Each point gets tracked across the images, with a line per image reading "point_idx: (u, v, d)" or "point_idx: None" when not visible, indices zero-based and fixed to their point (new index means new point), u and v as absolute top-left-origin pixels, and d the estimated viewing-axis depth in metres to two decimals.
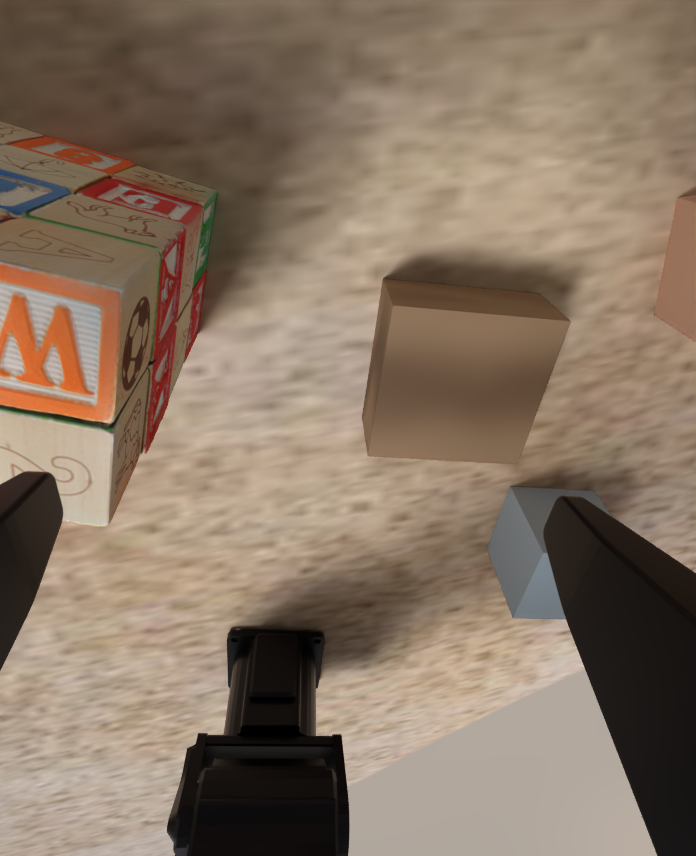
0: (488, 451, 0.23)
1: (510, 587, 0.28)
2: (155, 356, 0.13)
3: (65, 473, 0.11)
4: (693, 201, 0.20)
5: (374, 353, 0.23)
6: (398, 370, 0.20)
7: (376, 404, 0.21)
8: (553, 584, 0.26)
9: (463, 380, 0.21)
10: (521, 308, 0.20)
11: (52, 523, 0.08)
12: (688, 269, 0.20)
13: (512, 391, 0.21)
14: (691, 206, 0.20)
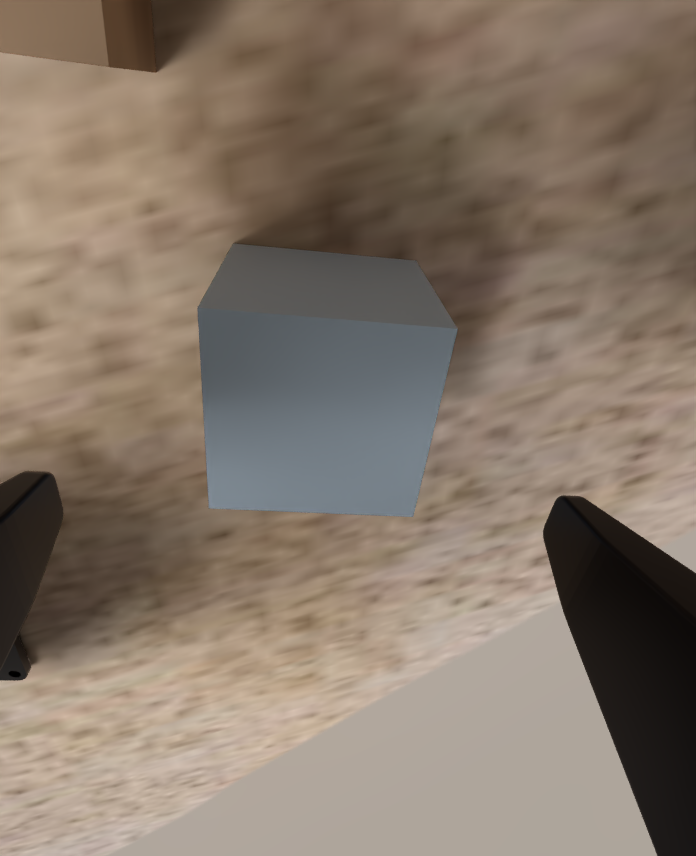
0: (1, 3, 0.08)
1: None
2: None
3: None
4: None
5: None
6: None
7: None
8: (265, 413, 0.11)
9: None
10: None
11: (52, 523, 0.08)
12: None
13: None
14: None
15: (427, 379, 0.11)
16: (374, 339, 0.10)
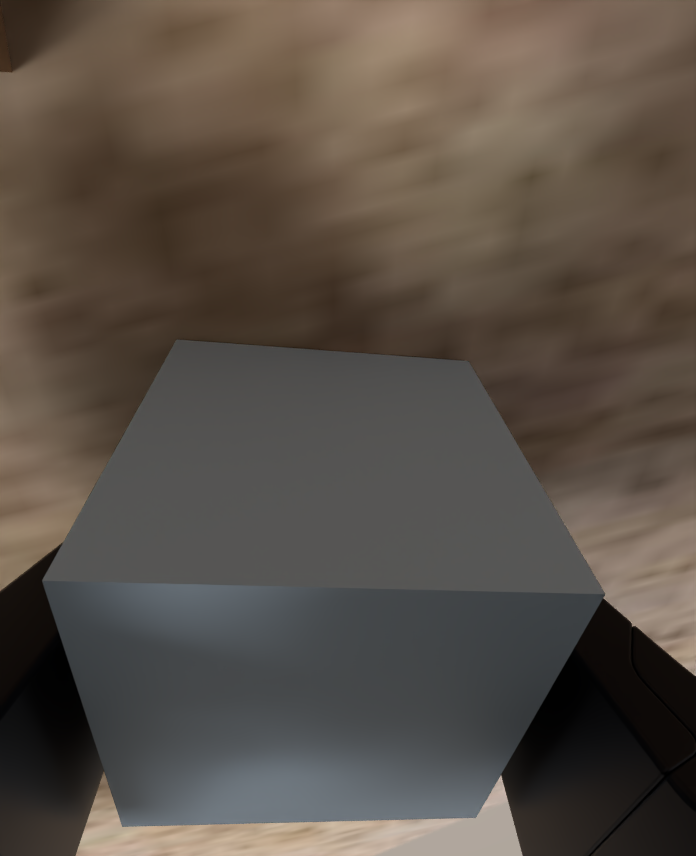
0: None
1: None
2: None
3: None
4: None
5: None
6: None
7: None
8: (212, 720, 0.06)
9: None
10: None
11: None
12: None
13: None
14: None
15: (529, 665, 0.05)
16: (431, 615, 0.05)
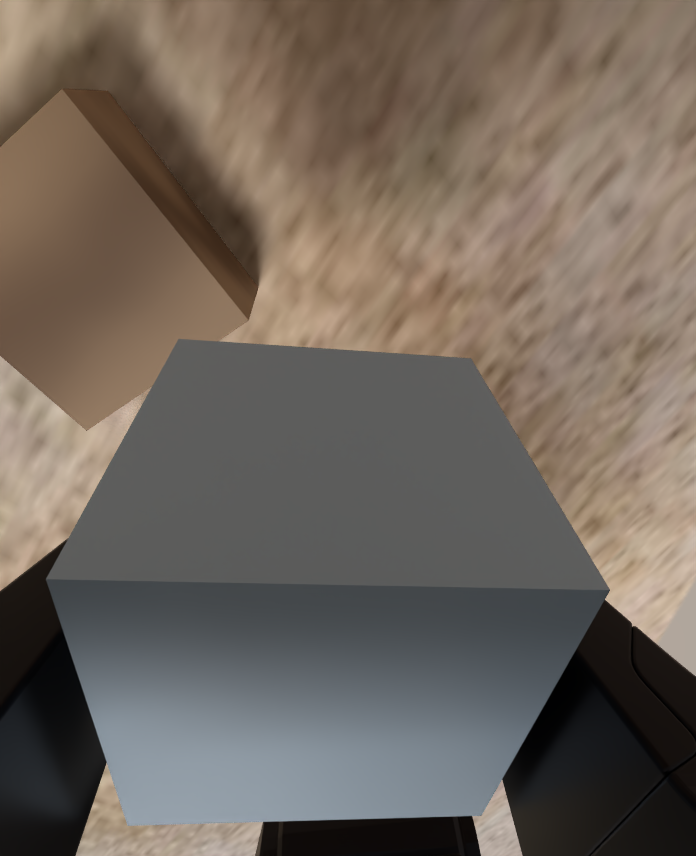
0: (193, 331, 0.16)
1: None
2: None
3: None
4: None
5: None
6: None
7: (21, 371, 0.16)
8: (216, 718, 0.06)
9: (57, 272, 0.14)
10: None
11: None
12: None
13: (121, 239, 0.14)
14: None
15: (534, 661, 0.05)
16: (435, 611, 0.05)
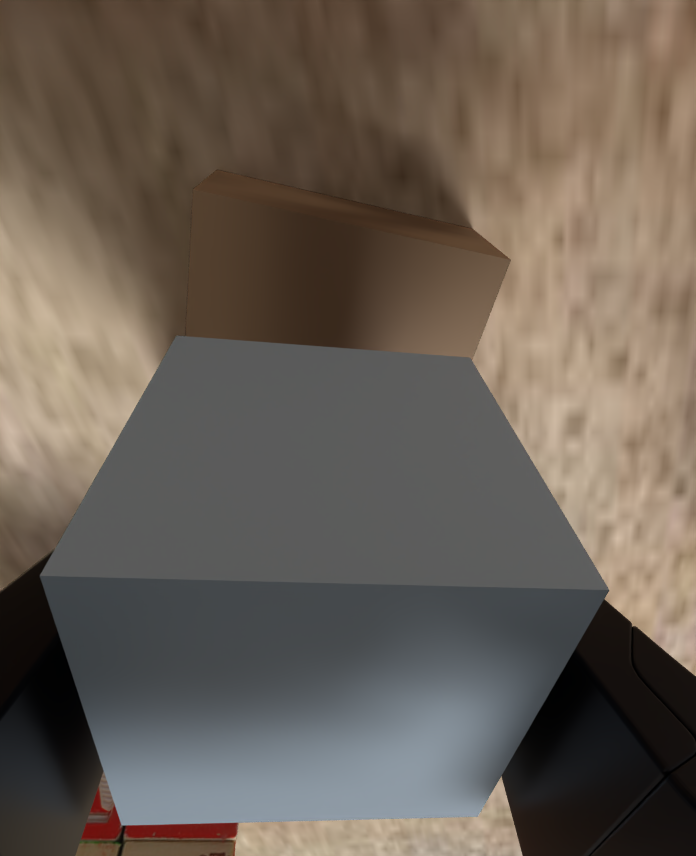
0: (460, 320, 0.12)
1: None
2: (112, 835, 0.14)
3: None
4: None
5: None
6: None
7: None
8: (212, 718, 0.06)
9: None
10: None
11: None
12: None
13: (335, 286, 0.12)
14: None
15: (532, 662, 0.05)
16: (433, 611, 0.05)
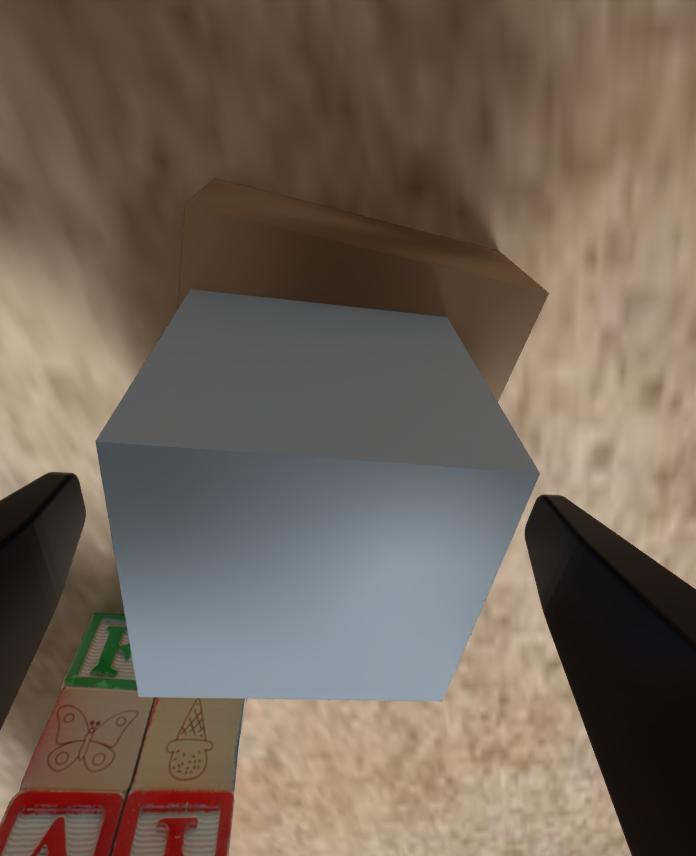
0: (487, 358, 0.11)
1: None
2: None
3: None
4: None
5: None
6: None
7: None
8: (221, 585, 0.07)
9: None
10: None
11: (76, 524, 0.09)
12: None
13: None
14: None
15: (481, 540, 0.07)
16: (402, 488, 0.06)
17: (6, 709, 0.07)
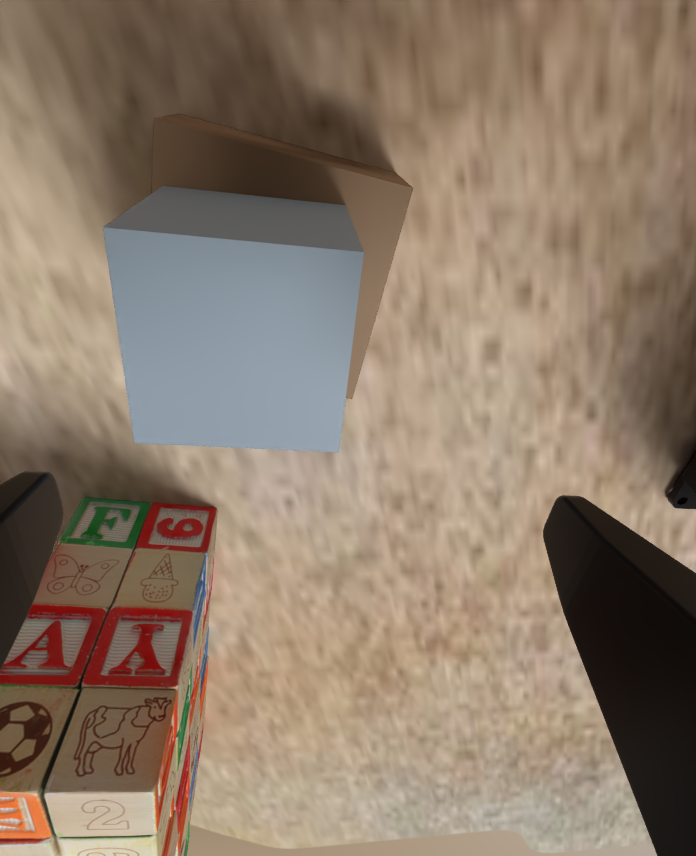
0: (375, 240, 0.15)
1: None
2: (72, 682, 0.16)
3: (99, 808, 0.15)
4: None
5: None
6: None
7: None
8: (182, 341, 0.11)
9: None
10: None
11: (52, 523, 0.08)
12: None
13: None
14: None
15: (339, 306, 0.11)
16: (283, 262, 0.10)
17: None
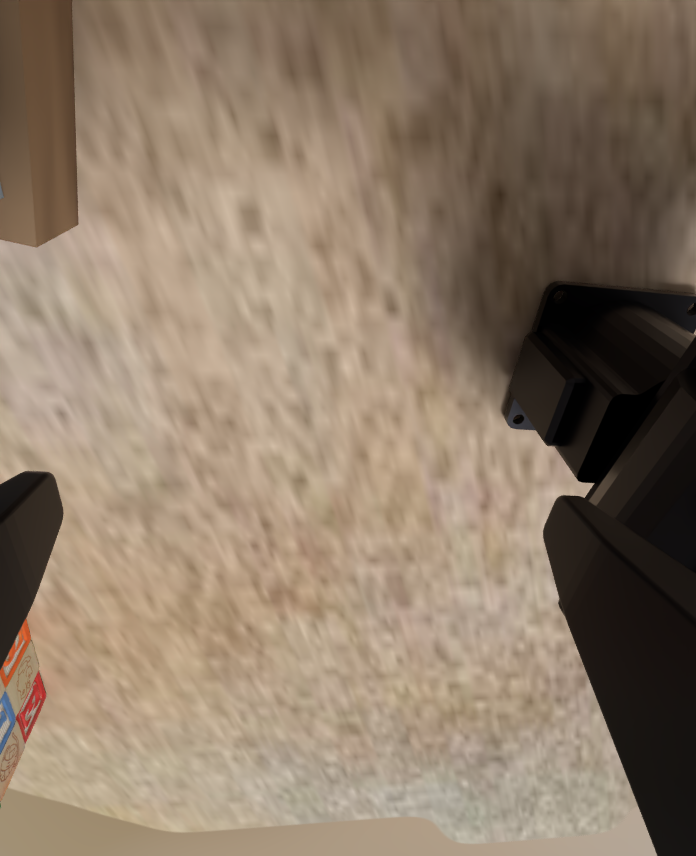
0: None
1: None
2: None
3: None
4: None
5: None
6: None
7: None
8: None
9: None
10: None
11: (52, 523, 0.08)
12: None
13: None
14: None
15: None
16: None
17: None
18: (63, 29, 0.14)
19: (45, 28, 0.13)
